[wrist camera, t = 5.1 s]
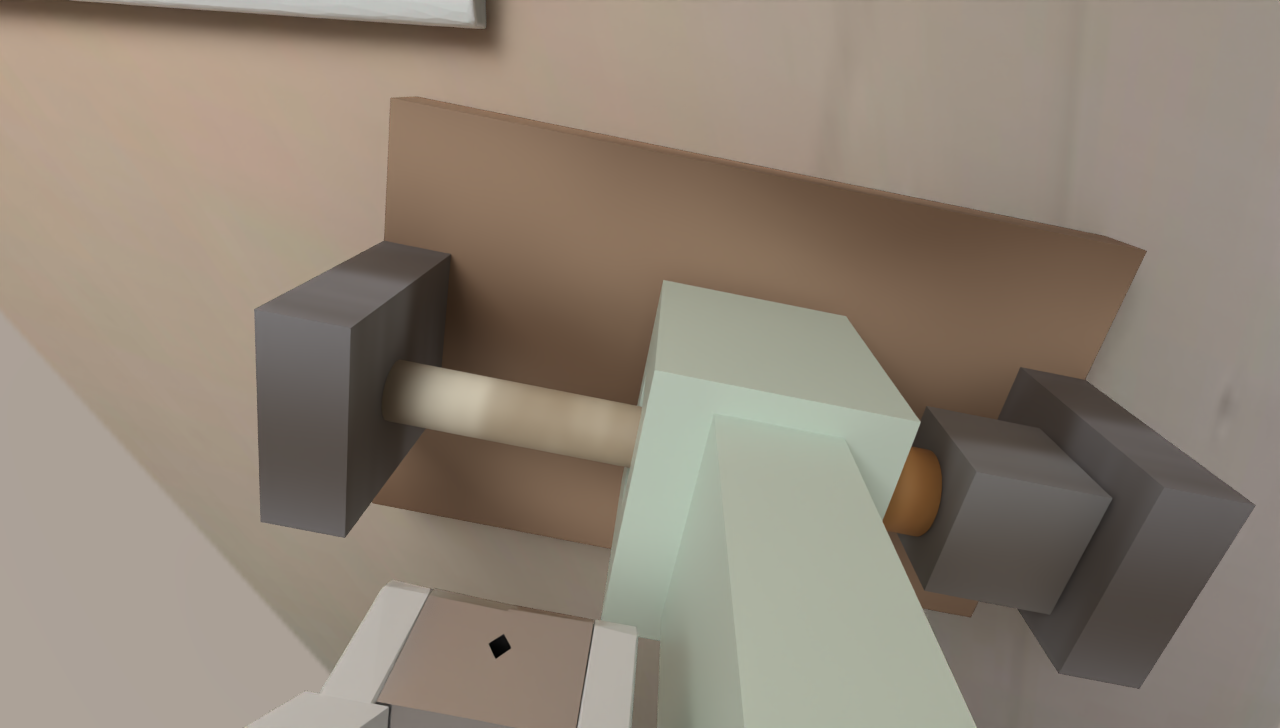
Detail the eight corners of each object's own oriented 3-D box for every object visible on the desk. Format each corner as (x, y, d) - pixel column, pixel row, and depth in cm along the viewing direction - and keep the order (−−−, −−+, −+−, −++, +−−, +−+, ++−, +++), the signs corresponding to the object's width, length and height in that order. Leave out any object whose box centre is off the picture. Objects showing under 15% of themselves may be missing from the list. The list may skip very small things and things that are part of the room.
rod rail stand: (416, 96, 15) (248, 105, 9) (1106, 236, 16) (1366, 330, 10) (394, 472, 19) (264, 649, 13) (950, 579, 20) (1068, 799, 14)
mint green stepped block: (663, 279, 15) (621, 721, 5) (846, 315, 15) (1208, 831, 5) (622, 477, 17) (527, 1100, 6) (784, 508, 17) (944, 1173, 7)
